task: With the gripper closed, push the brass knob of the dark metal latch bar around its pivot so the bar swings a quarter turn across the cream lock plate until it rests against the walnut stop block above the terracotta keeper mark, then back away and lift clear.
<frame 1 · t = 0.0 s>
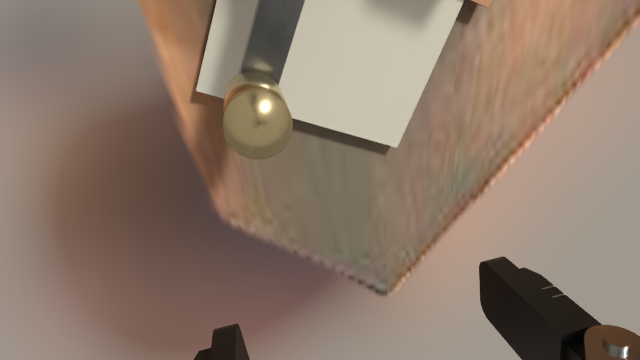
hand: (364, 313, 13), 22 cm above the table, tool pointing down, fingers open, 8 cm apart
lock plate: (339, 11, 30), on the table
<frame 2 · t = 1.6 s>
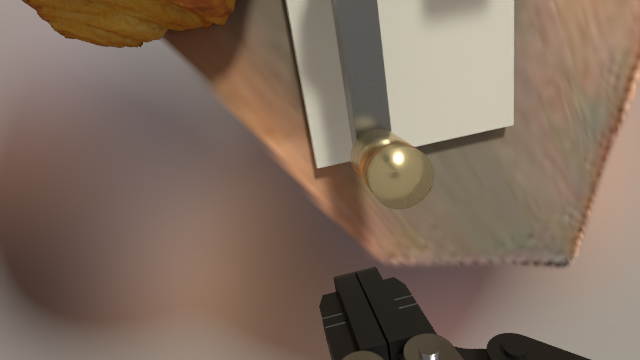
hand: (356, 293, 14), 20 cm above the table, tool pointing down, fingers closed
latch bar: (371, 54, 23), point 8 cm above the table, hinge at 0.0°
lock plate: (403, 38, 31), on the table
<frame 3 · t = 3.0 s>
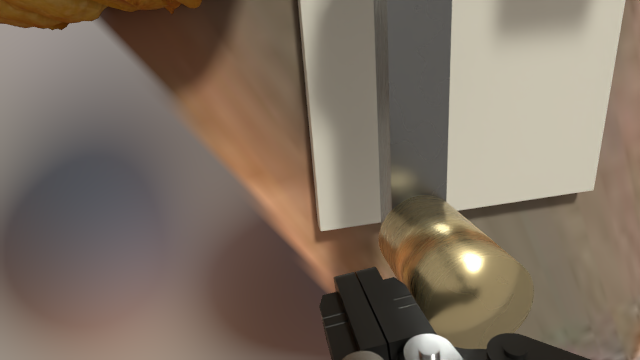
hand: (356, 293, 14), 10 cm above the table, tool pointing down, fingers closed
latch bar: (439, 82, 14), point 8 cm above the table, hinge at 0.2°, touching gripper
lock plate: (461, 58, 22), on the table
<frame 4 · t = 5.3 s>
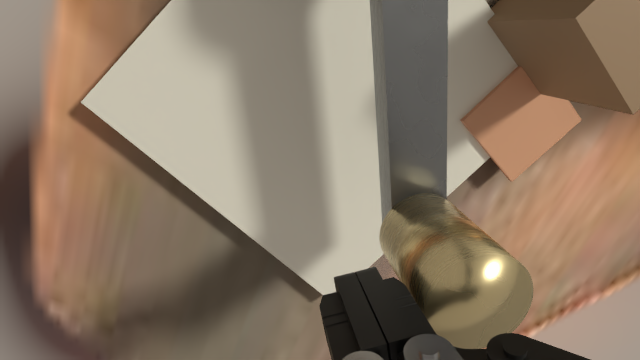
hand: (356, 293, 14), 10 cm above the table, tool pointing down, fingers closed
latch bar: (436, 80, 14), point 8 cm above the table, hinge at 52.2°, touching gripper
lock plate: (334, 97, 21), on the table
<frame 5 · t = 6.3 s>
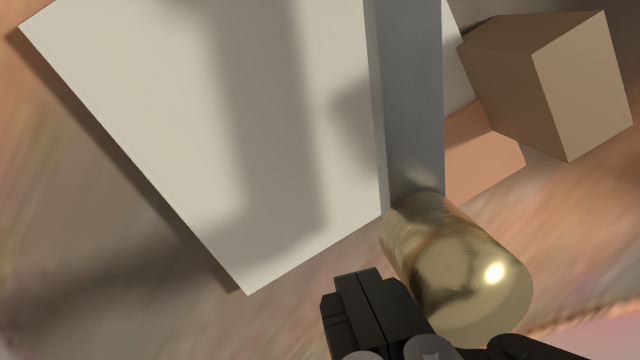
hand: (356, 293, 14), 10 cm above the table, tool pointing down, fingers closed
latch bar: (430, 79, 14), point 8 cm above the table, hinge at 66.9°, touching gripper
lock plate: (292, 87, 21), on the table
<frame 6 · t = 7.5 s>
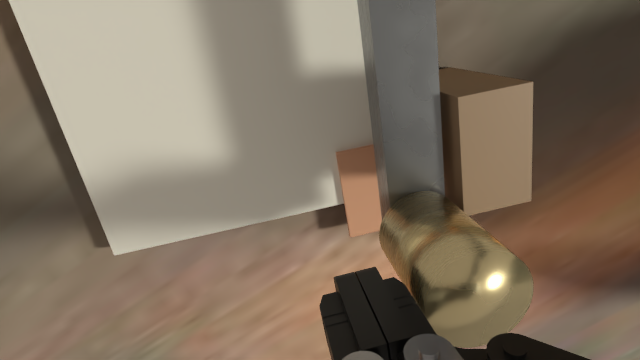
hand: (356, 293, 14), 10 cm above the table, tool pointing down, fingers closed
latch bar: (426, 79, 14), point 8 cm above the table, hinge at 89.0°, touching gripper, lock plate
lock plate: (235, 58, 20), on the table
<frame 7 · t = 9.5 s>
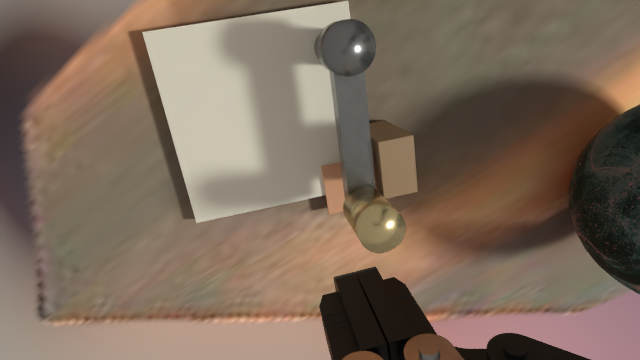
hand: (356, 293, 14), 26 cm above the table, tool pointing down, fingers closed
latch bar: (361, 135, 31), point 8 cm above the table, hinge at 89.0°, touching lock plate
decorative sphere: (603, 168, 47), on the table
lock plate: (267, 115, 37), on the table
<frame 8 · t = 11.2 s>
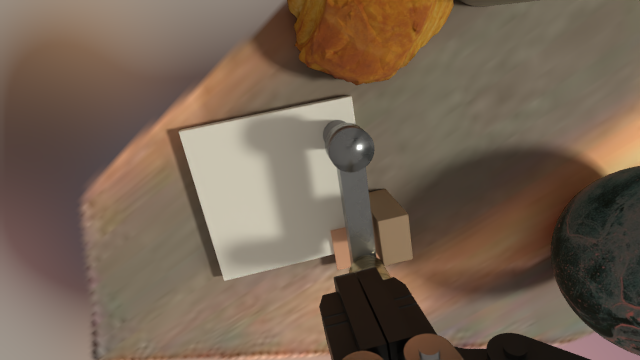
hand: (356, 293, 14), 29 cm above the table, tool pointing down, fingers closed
croissant: (356, 3, 39), on the table
latch bar: (363, 220, 37), point 8 cm above the table, hinge at 89.0°, touching lock plate
decorative sphere: (585, 219, 52), on the table
lock plate: (283, 190, 43), on the table
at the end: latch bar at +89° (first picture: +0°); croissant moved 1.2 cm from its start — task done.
